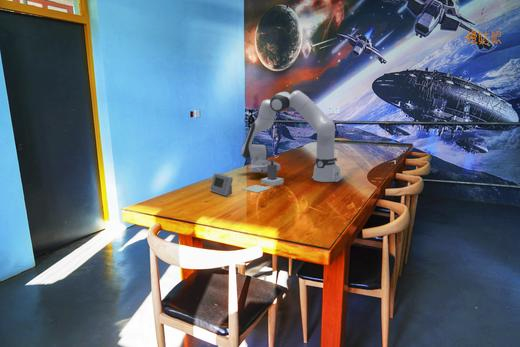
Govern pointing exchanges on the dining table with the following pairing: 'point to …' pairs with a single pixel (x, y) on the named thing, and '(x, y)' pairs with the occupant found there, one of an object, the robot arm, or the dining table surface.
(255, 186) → the mat
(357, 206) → the dining table surface
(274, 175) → the plug
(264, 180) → the socket block
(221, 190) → the digital clock
